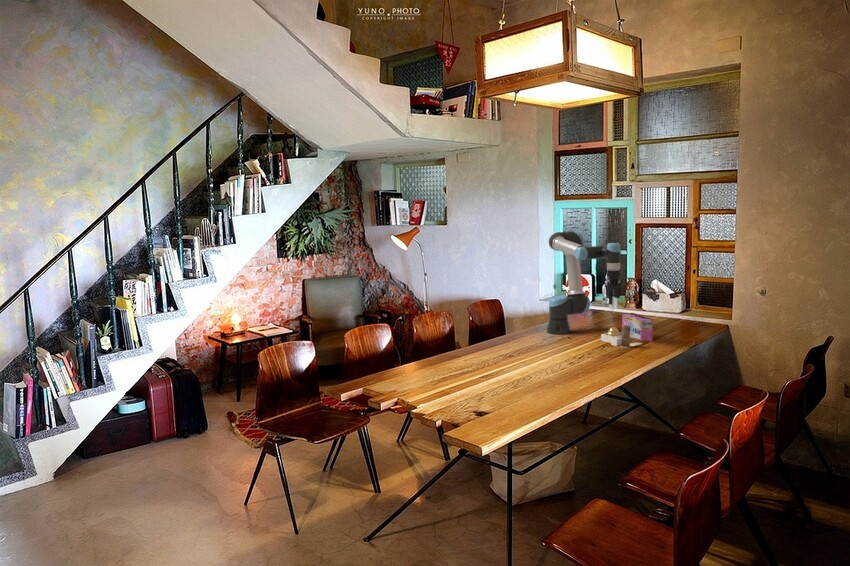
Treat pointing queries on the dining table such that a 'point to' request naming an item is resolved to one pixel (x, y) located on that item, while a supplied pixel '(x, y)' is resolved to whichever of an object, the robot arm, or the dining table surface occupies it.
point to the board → (634, 344)
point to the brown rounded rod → (625, 336)
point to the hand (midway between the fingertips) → (613, 309)
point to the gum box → (638, 326)
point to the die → (616, 341)
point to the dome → (613, 332)
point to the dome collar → (609, 337)
